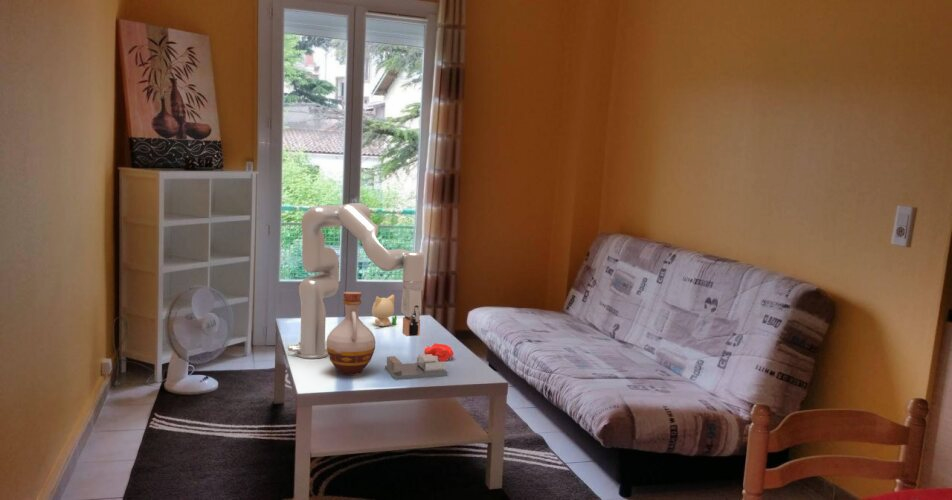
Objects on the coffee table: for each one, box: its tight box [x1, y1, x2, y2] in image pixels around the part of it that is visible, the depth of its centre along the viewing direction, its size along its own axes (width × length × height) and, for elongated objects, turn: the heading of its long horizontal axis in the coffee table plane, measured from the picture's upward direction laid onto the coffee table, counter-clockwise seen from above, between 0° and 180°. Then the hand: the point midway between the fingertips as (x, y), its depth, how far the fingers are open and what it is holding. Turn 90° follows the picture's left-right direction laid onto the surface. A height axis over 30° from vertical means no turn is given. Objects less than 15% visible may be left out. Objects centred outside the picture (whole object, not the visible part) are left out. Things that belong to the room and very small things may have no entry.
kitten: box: [371, 294, 397, 327], centre depth 338 cm, size 15×10×15 cm
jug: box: [325, 291, 376, 376], centre depth 260 cm, size 20×18×30 cm
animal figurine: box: [423, 342, 455, 362], centre depth 289 cm, size 12×15×5 cm
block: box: [402, 316, 421, 337], centre depth 263 cm, size 5×5×6 cm
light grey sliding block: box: [418, 354, 437, 370], centre depth 268 cm, size 5×6×4 cm
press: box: [384, 355, 448, 381], centre depth 266 cm, size 20×14×6 cm
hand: (410, 333), depth 263 cm, fingers closed on block, 5 cm apart
